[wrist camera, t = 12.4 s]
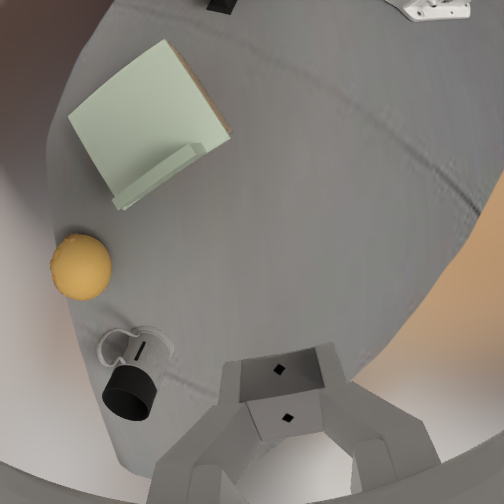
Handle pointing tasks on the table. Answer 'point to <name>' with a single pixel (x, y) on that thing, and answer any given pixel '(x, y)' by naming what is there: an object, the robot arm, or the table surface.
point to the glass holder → (136, 372)
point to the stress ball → (81, 267)
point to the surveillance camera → (222, 6)
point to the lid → (146, 125)
